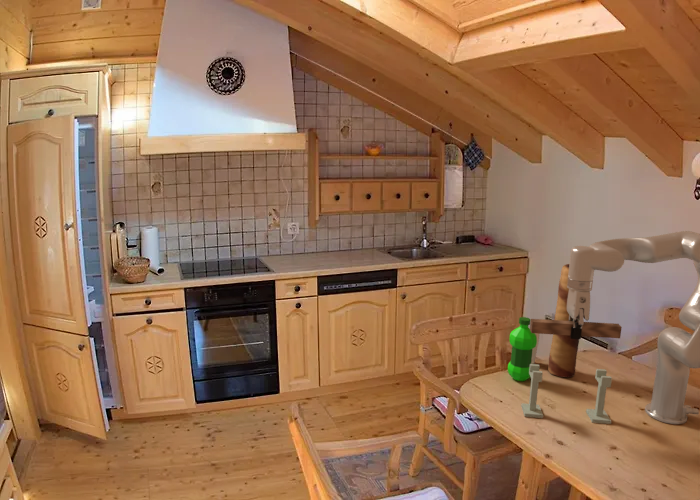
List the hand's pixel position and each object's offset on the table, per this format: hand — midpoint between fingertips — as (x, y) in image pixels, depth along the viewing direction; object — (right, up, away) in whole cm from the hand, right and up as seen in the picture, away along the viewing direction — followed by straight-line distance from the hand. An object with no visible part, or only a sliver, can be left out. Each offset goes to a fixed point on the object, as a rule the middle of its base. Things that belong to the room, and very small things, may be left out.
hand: (573, 336), depth 174 cm
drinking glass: (+1, -19, +47) cm, 51 cm away
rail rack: (0, -28, +6) cm, 29 cm away
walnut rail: (0, +1, 0) cm, 1 cm away
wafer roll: (+12, -21, +38) cm, 45 cm away
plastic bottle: (-7, -22, +33) cm, 41 cm away
